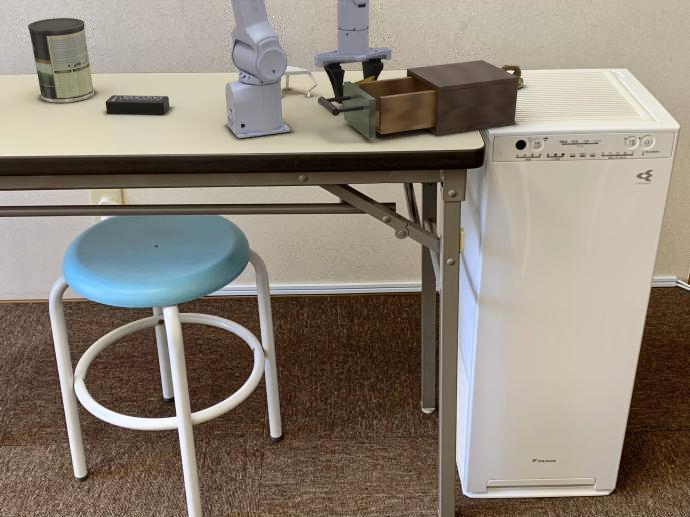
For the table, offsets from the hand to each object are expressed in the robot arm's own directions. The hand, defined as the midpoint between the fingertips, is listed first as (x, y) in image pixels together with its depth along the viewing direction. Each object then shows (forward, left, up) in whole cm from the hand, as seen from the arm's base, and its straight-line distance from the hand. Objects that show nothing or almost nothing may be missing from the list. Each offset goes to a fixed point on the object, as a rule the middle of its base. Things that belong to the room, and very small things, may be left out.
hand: (353, 100), depth 156 cm
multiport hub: (-38, +15, -2) cm, 41 cm away
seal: (+31, +4, -2) cm, 31 cm away
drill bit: (+1, 0, -2) cm, 2 cm away
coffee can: (-49, +30, -2) cm, 57 cm away
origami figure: (-8, +14, -2) cm, 16 cm away
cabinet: (+15, -13, -2) cm, 20 cm away
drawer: (0, -13, -1) cm, 13 cm away
